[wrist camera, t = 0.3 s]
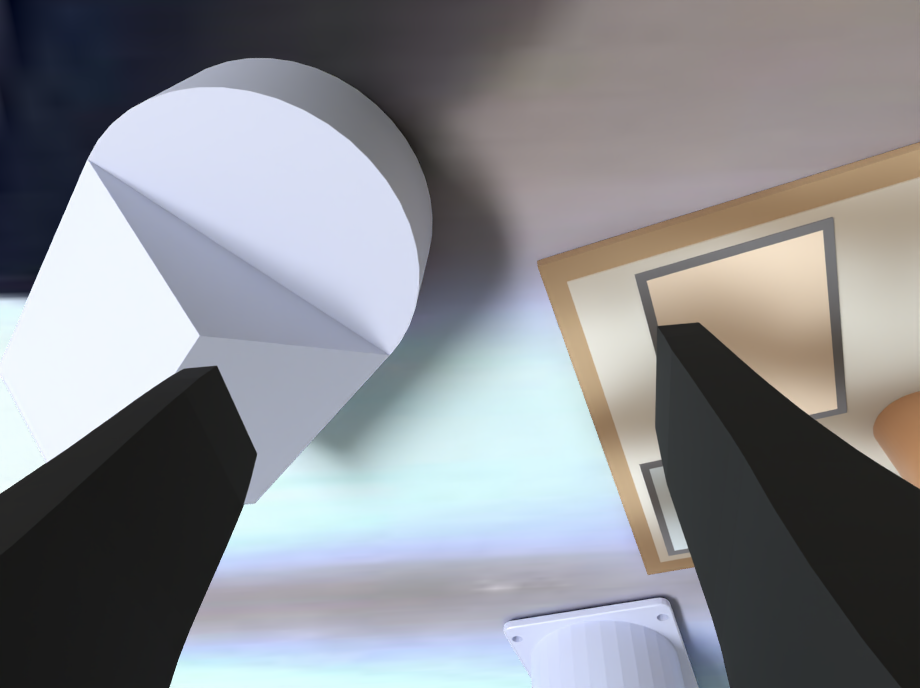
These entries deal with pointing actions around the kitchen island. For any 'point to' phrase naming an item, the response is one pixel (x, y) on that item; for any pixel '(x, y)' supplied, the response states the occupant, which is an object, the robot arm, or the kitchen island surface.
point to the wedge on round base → (228, 259)
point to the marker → (901, 436)
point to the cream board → (750, 315)
